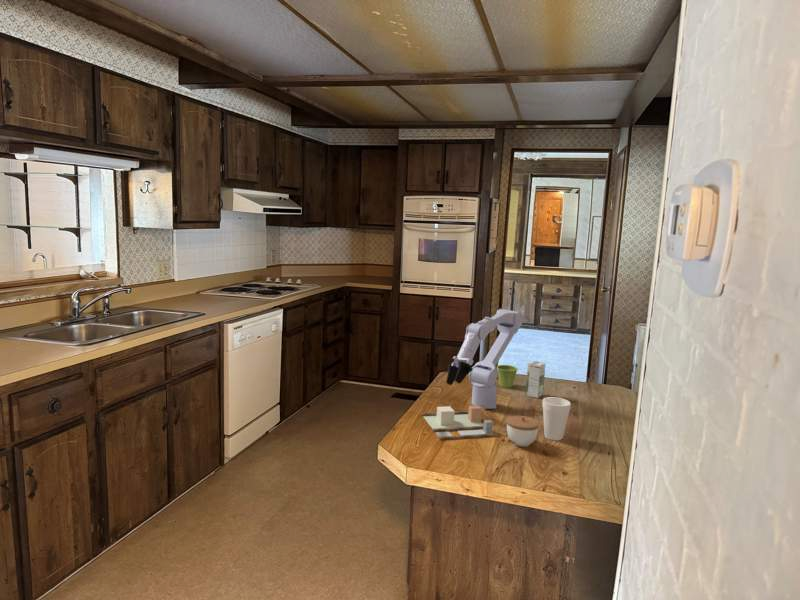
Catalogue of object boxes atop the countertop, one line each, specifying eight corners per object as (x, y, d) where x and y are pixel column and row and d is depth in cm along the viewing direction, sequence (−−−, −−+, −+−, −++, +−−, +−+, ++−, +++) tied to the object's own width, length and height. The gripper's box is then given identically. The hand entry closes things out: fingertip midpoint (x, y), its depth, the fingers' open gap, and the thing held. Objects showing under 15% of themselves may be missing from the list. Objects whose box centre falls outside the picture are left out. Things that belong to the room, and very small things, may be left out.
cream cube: (449, 419, 205) (449, 406, 204) (453, 424, 200) (454, 411, 199) (436, 419, 204) (437, 406, 203) (440, 425, 199) (441, 411, 198)
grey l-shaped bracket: (488, 431, 197) (489, 418, 196) (494, 436, 192) (495, 423, 192) (456, 433, 194) (457, 420, 193) (461, 438, 189) (462, 425, 189)
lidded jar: (540, 440, 192) (542, 414, 190) (533, 452, 182) (536, 425, 181) (509, 434, 196) (511, 408, 195) (501, 445, 186) (503, 418, 185)
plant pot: (518, 385, 253) (519, 366, 252) (513, 390, 245) (515, 371, 243) (498, 381, 257) (499, 363, 256) (493, 387, 249) (494, 368, 247)
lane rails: (472, 415, 213) (472, 410, 213) (497, 439, 191) (497, 434, 191) (420, 417, 208) (420, 413, 208) (439, 443, 186) (439, 438, 186)
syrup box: (530, 392, 243) (532, 360, 241) (543, 395, 240) (545, 362, 238) (525, 395, 239) (527, 363, 237) (538, 398, 235) (540, 365, 233)
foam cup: (552, 443, 189) (555, 407, 187) (534, 433, 197) (537, 398, 195) (573, 439, 194) (576, 404, 192) (554, 430, 202) (557, 395, 200)
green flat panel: (472, 415, 212) (473, 400, 211) (486, 428, 199) (487, 413, 198) (422, 418, 206) (423, 403, 206) (433, 432, 194) (434, 415, 193)
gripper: (450, 348, 216) (436, 379, 211) (467, 343, 203) (452, 375, 198) (465, 358, 217) (451, 388, 213) (482, 353, 204) (468, 385, 199)
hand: (452, 383), depth 205 cm, fingers open, 7 cm apart
